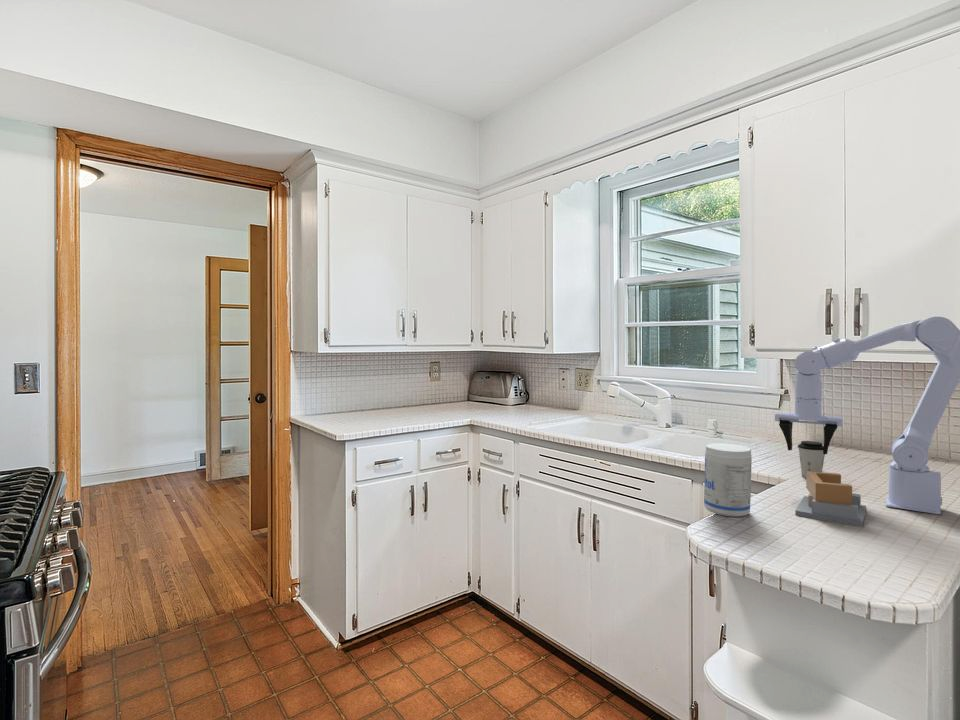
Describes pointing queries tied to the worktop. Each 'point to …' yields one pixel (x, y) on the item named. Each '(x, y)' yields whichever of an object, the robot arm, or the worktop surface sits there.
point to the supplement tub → (727, 479)
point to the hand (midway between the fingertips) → (807, 451)
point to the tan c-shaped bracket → (828, 488)
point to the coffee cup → (811, 457)
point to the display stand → (833, 510)
